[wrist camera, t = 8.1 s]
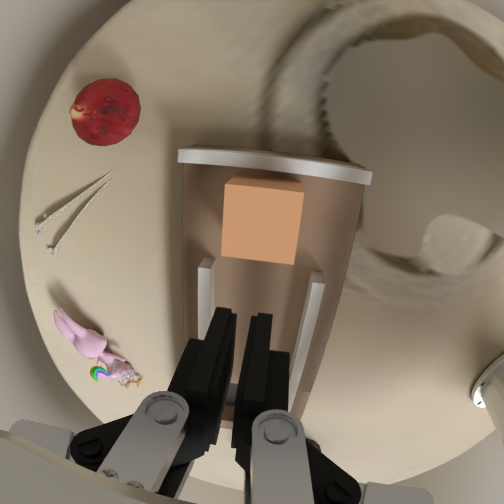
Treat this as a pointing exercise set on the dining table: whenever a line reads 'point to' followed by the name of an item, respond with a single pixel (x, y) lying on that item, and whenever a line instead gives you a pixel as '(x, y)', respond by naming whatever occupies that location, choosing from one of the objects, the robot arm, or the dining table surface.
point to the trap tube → (269, 273)
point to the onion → (105, 112)
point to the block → (261, 218)
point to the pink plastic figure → (95, 350)
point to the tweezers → (40, 224)
